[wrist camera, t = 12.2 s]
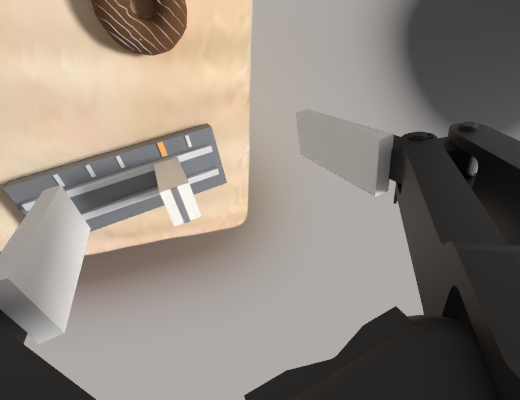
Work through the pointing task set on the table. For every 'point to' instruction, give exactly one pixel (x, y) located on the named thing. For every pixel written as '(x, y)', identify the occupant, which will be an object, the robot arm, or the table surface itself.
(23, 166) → the table surface
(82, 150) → the table surface
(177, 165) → the fader knob
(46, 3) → the table surface
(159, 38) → the donut
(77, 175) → the slider board
